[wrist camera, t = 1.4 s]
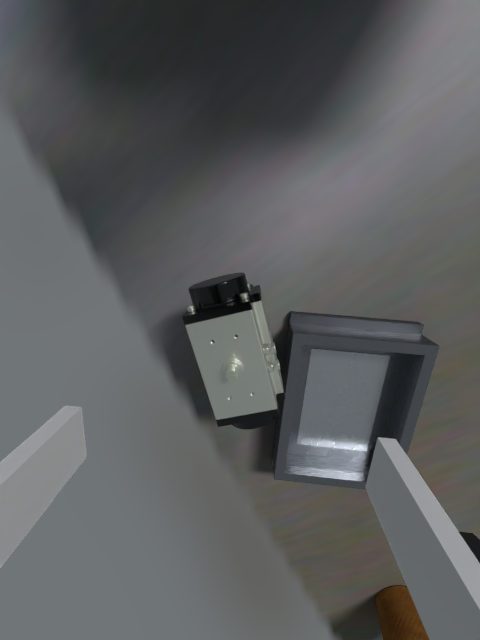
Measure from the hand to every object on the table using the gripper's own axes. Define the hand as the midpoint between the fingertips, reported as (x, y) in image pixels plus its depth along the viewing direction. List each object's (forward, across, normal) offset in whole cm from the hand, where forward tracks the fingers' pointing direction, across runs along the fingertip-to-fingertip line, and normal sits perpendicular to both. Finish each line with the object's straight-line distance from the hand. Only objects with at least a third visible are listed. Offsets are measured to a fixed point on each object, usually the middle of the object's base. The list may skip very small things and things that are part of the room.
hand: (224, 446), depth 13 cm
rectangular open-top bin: (+18, +11, -8) cm, 23 cm away
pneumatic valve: (+18, 0, 0) cm, 19 cm away
